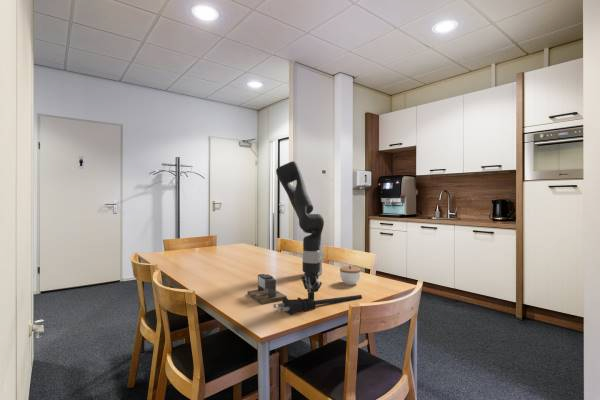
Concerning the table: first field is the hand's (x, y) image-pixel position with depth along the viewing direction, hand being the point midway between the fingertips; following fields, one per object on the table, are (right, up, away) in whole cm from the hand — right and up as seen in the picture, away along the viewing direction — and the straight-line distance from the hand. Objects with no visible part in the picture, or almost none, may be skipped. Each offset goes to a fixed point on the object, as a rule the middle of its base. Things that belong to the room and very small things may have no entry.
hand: (311, 300), depth 136 cm
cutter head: (-20, +1, +8) cm, 22 cm away
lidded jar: (+22, -1, +30) cm, 37 cm away
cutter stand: (-20, -1, +8) cm, 22 cm away
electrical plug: (+4, -2, -2) cm, 5 cm away
